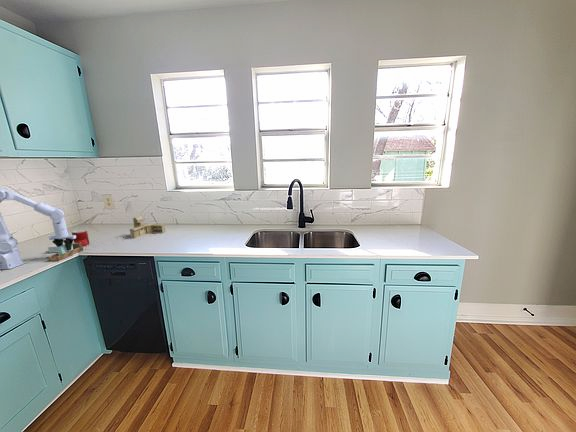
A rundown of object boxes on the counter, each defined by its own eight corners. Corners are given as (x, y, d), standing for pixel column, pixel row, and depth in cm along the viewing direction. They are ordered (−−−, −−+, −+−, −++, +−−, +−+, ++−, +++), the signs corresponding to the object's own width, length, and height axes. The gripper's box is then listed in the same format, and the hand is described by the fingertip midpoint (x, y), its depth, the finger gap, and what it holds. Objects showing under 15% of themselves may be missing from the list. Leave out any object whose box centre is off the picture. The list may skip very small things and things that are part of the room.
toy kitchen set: (149, 239, 181) (146, 219, 178) (130, 238, 185) (126, 219, 181) (165, 232, 199) (163, 214, 196) (148, 231, 202) (145, 213, 199)
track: (59, 261, 143) (57, 253, 142) (48, 261, 143) (46, 253, 142) (83, 250, 161) (81, 243, 159) (73, 250, 160) (72, 243, 159)
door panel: (63, 256, 148) (60, 247, 146) (59, 256, 147) (56, 247, 146) (73, 251, 155) (71, 242, 154) (69, 251, 155) (67, 242, 154)
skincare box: (49, 253, 157) (69, 252, 158) (47, 246, 156) (68, 245, 157) (56, 249, 163) (76, 249, 164) (55, 243, 162) (75, 242, 163)
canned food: (91, 244, 171) (88, 229, 169) (77, 248, 165) (74, 232, 162) (86, 243, 175) (83, 228, 173) (73, 246, 169) (69, 231, 166)
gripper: (78, 226, 152) (82, 247, 155) (54, 227, 152) (59, 248, 155) (68, 230, 145) (73, 251, 148) (43, 230, 145) (49, 252, 148)
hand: (65, 250), depth 151 cm, fingers open, 4 cm apart
